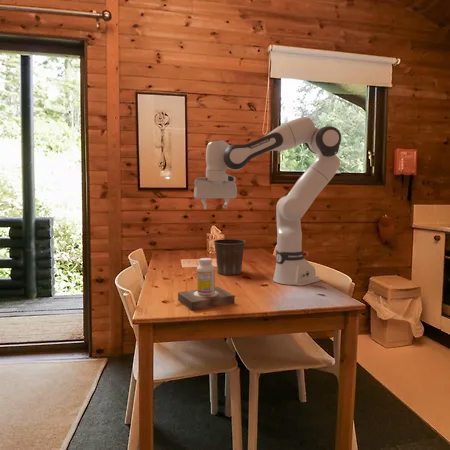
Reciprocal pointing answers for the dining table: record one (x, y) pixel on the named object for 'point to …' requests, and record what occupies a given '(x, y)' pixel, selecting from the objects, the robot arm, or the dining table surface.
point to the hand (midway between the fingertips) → (215, 208)
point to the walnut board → (205, 299)
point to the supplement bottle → (205, 277)
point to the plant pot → (229, 256)
